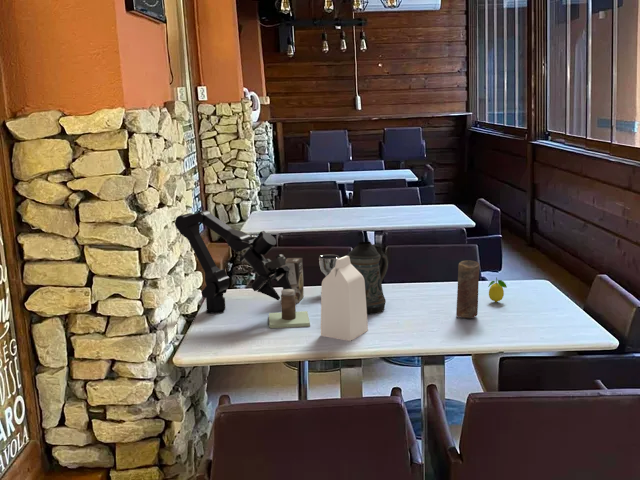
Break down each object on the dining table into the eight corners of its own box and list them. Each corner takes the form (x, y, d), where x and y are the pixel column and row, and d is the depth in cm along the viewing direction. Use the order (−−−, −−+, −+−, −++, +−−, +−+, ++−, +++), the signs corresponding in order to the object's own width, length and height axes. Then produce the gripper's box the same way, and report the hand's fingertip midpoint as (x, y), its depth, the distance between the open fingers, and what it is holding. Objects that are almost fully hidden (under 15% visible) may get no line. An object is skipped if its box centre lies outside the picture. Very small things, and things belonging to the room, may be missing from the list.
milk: (350, 341, 232) (349, 263, 227) (320, 335, 238) (318, 259, 233) (368, 330, 242) (367, 255, 237) (338, 325, 248) (337, 252, 243)
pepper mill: (287, 320, 251) (286, 293, 249) (279, 317, 254) (278, 290, 252) (298, 318, 254) (297, 290, 252) (290, 314, 257) (289, 288, 255)
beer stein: (335, 312, 263) (333, 246, 258) (352, 298, 280) (351, 236, 275) (378, 317, 256) (377, 249, 251) (393, 302, 274) (393, 238, 269)
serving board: (269, 328, 247) (269, 324, 247) (269, 316, 261) (268, 313, 260) (310, 326, 248) (309, 322, 248) (307, 314, 262) (307, 311, 261)
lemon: (506, 305, 267) (507, 279, 265) (490, 305, 267) (491, 279, 265) (502, 300, 273) (502, 274, 271) (486, 300, 274) (487, 275, 272)
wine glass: (319, 290, 293) (318, 254, 290) (338, 289, 294) (337, 254, 291) (320, 295, 286) (319, 259, 283) (340, 294, 286) (339, 258, 283)
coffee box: (299, 303, 276) (297, 262, 273) (283, 302, 277) (281, 262, 274) (304, 296, 285) (303, 257, 281) (288, 296, 286) (287, 257, 283)
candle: (480, 315, 255) (481, 261, 251) (475, 321, 248) (476, 265, 244) (459, 313, 258) (459, 259, 254) (453, 319, 252) (454, 264, 248)
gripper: (257, 253, 244) (286, 288, 241) (284, 243, 260) (312, 275, 257) (238, 274, 249) (267, 308, 246) (266, 262, 265) (293, 294, 262)
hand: (285, 295), depth 253 cm, fingers open, 9 cm apart
